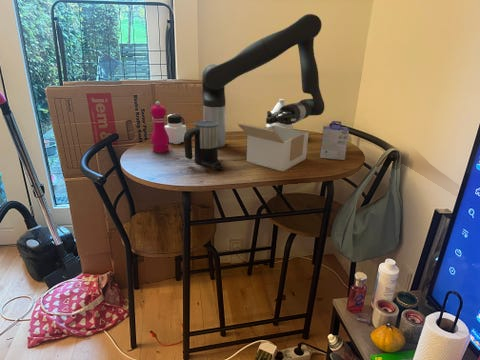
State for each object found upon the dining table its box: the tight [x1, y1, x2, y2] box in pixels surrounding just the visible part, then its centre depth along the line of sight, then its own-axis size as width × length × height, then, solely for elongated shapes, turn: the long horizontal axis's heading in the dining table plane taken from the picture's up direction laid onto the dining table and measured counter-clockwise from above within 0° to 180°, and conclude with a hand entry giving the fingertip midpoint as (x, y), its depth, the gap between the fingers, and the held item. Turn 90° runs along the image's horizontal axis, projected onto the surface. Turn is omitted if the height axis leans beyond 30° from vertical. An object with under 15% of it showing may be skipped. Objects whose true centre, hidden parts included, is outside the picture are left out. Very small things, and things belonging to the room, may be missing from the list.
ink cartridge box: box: [319, 120, 350, 161], centre depth 140 cm, size 10×6×14 cm, turn 78°
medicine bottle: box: [164, 113, 187, 145], centre depth 155 cm, size 7×7×12 cm
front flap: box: [236, 122, 284, 143], centre depth 123 cm, size 9×15×1 cm
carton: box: [246, 125, 310, 173], centre depth 135 cm, size 18×17×11 cm
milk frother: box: [183, 120, 225, 171], centre depth 128 cm, size 14×16×15 cm
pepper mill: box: [150, 101, 169, 153], centre depth 142 cm, size 7×7×20 cm
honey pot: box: [265, 98, 294, 129], centre depth 165 cm, size 13×13×18 cm
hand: (268, 121), depth 125 cm, fingers closed
